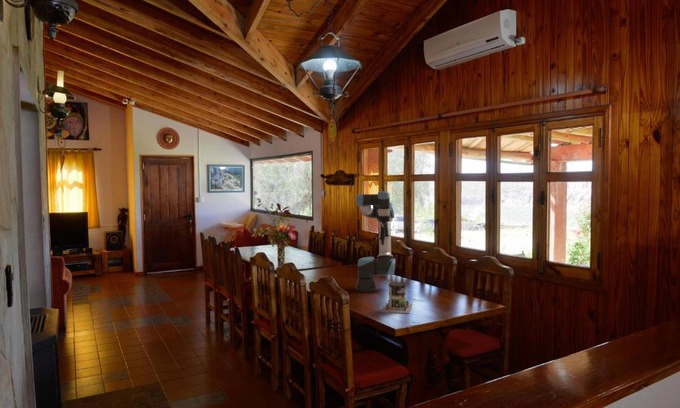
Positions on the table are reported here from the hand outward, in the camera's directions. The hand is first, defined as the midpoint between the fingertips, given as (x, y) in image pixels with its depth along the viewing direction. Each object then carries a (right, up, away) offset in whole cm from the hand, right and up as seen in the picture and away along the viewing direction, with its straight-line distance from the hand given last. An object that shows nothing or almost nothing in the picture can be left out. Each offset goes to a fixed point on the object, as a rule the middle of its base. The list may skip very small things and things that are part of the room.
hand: (384, 248), depth 322 cm
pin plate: (+6, -36, -18) cm, 40 cm away
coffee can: (+6, -34, -18) cm, 39 cm away
